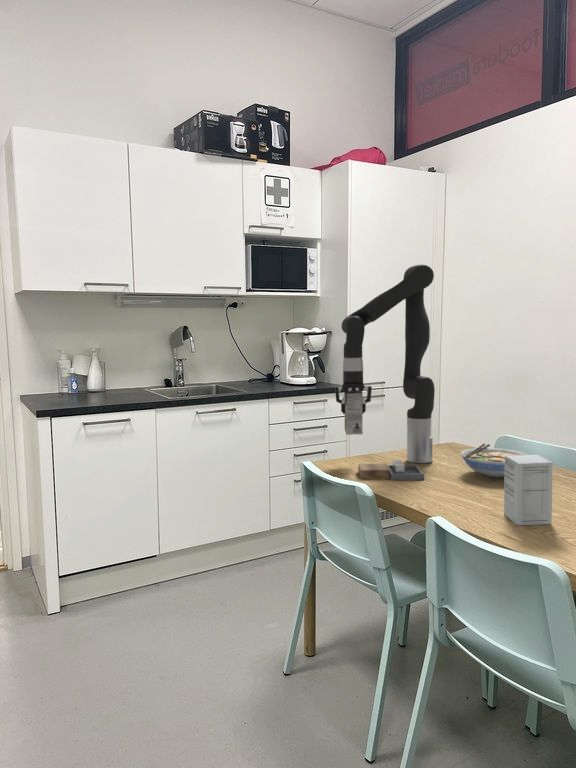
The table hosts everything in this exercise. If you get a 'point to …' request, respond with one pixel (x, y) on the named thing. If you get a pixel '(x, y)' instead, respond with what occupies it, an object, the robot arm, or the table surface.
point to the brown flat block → (373, 471)
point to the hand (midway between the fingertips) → (353, 413)
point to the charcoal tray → (407, 473)
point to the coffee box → (353, 412)
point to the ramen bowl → (488, 460)
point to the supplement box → (528, 490)
